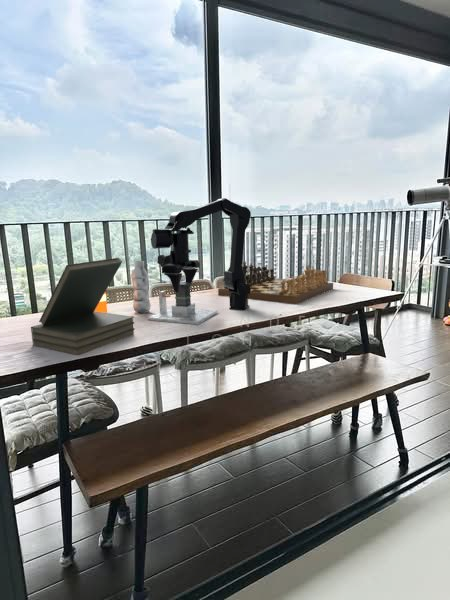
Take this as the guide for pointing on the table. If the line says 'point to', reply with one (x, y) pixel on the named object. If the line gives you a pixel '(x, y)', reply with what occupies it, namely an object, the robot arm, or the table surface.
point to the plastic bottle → (140, 288)
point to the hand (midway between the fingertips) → (182, 289)
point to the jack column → (183, 295)
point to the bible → (81, 311)
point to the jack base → (180, 312)
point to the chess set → (282, 285)
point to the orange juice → (102, 305)
